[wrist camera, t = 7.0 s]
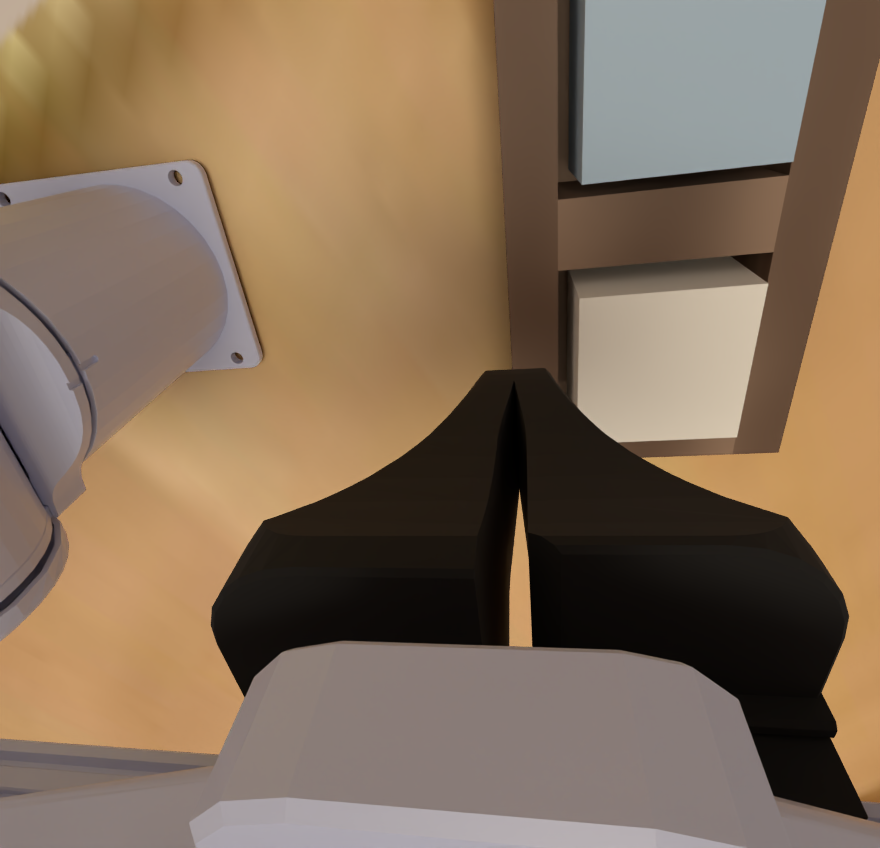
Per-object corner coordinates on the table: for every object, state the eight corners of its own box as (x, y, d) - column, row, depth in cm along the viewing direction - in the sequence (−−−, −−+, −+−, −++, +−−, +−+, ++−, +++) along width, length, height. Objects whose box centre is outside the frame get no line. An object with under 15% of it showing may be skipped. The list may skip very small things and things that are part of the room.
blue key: (568, 169, 16) (581, 184, 14) (570, -43, 14) (587, -76, 11) (742, 149, 16) (793, 161, 13) (779, -79, 13) (851, -122, 10)
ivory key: (566, 397, 20) (576, 443, 18) (567, 267, 18) (579, 298, 15) (704, 390, 20) (736, 437, 17) (726, 253, 17) (768, 283, 14)
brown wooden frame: (514, 408, 23) (516, 462, 20) (489, -86, 15) (486, -137, 12) (735, 396, 22) (778, 452, 19) (841, -150, 14) (953, -229, 10)
